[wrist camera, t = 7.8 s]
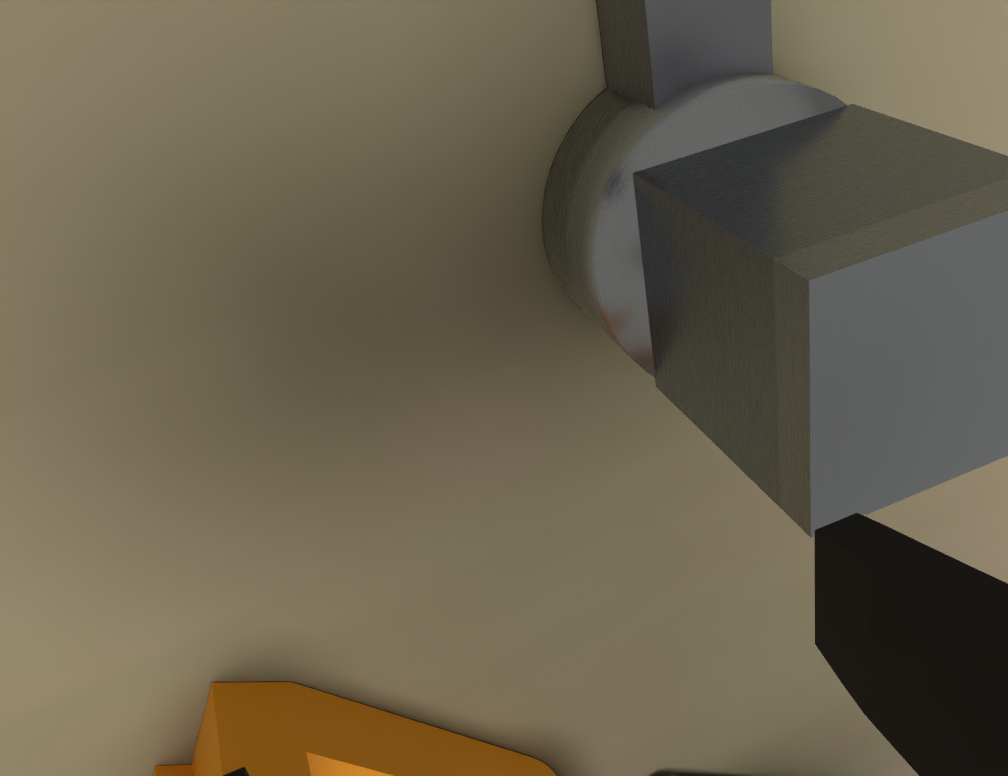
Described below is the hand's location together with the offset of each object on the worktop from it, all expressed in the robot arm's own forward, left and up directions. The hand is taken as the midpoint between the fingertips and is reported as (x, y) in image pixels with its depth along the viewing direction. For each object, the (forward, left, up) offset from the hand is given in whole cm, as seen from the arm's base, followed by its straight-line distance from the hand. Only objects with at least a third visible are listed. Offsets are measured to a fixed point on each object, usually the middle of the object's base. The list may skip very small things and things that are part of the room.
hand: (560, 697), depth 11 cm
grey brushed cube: (-5, -5, -7) cm, 10 cm away
